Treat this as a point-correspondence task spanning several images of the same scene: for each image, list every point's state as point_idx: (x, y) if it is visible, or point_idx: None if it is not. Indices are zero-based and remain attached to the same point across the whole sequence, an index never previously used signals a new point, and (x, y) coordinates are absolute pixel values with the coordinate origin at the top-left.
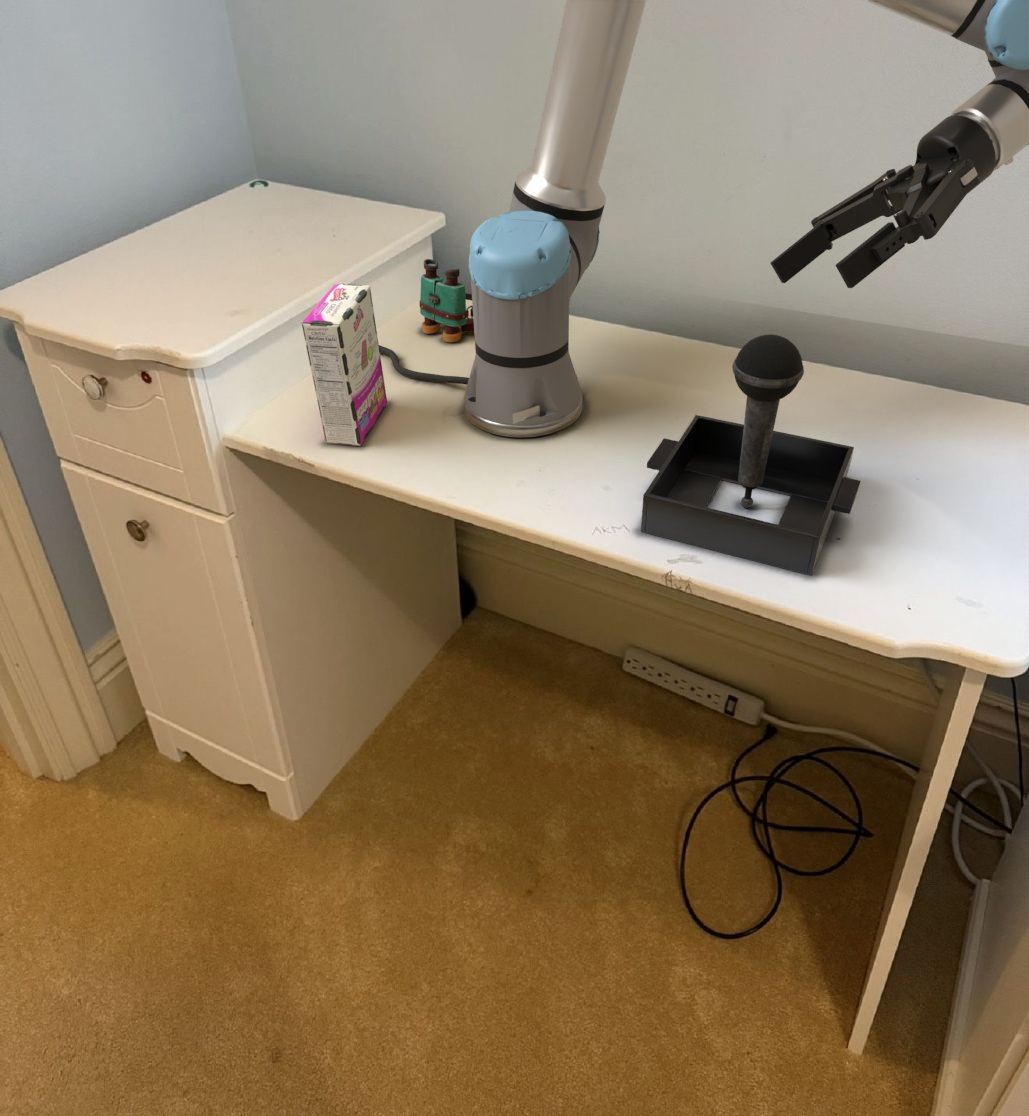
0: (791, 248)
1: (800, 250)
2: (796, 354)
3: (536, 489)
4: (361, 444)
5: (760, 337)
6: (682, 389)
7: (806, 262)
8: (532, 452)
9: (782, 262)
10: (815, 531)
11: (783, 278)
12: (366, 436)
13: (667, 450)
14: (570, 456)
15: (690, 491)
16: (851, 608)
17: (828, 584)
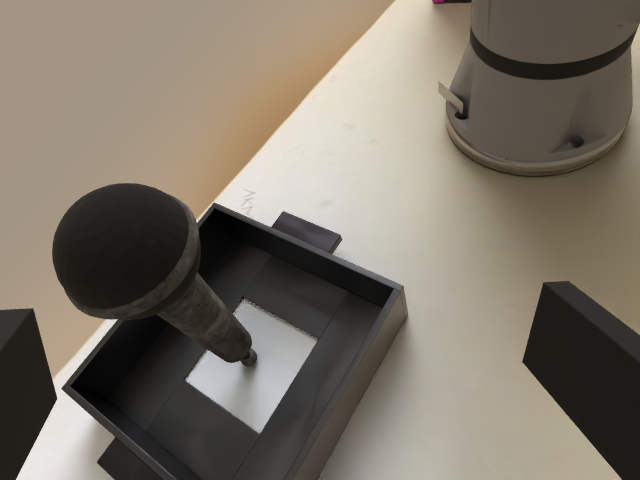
0: (613, 339)
1: (623, 391)
2: (61, 271)
3: (334, 140)
4: (435, 1)
5: (111, 195)
6: (637, 332)
7: (601, 441)
8: (413, 131)
9: (557, 319)
10: (168, 438)
11: (527, 348)
12: (452, 1)
13: (306, 236)
14: (401, 167)
15: (294, 292)
16: (39, 433)
17: (82, 420)
